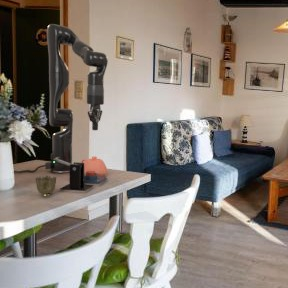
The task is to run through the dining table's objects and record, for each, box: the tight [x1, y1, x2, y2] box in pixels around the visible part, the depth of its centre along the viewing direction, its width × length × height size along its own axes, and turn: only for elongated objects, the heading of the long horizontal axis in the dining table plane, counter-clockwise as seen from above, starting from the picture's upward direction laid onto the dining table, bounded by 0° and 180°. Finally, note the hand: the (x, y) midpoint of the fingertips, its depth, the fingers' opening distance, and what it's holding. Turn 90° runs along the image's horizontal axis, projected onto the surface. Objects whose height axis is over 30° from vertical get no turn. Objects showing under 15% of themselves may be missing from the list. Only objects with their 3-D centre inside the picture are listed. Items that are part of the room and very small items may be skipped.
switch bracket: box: [59, 161, 94, 192], centre depth 166 cm, size 11×9×12 cm
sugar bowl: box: [80, 156, 108, 176], centre depth 192 cm, size 12×14×10 cm
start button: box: [86, 171, 95, 176], centre depth 179 cm, size 4×4×2 cm
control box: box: [84, 173, 108, 185], centre depth 179 cm, size 12×10×4 cm
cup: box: [35, 175, 57, 197], centre depth 153 cm, size 8×7×8 cm
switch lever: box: [50, 157, 82, 167], centre depth 165 cm, size 12×5×2 cm, turn 92°
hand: (95, 130), depth 181 cm, fingers closed
